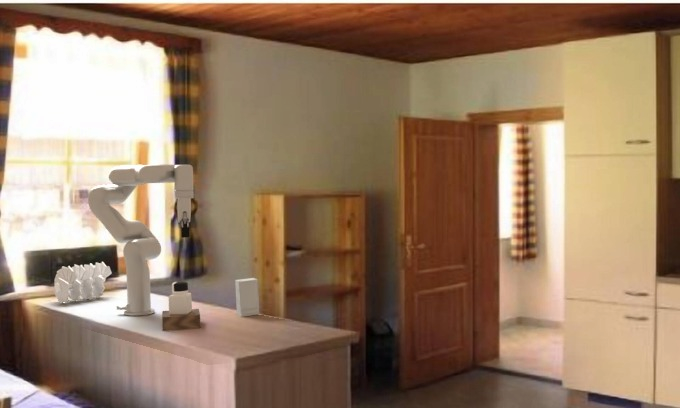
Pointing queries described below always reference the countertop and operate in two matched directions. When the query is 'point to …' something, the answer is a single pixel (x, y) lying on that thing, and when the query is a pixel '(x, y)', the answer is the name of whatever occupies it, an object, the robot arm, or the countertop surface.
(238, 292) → the skincare box
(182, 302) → the medicine bottle
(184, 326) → the walnut riser
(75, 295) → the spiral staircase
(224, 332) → the countertop surface
